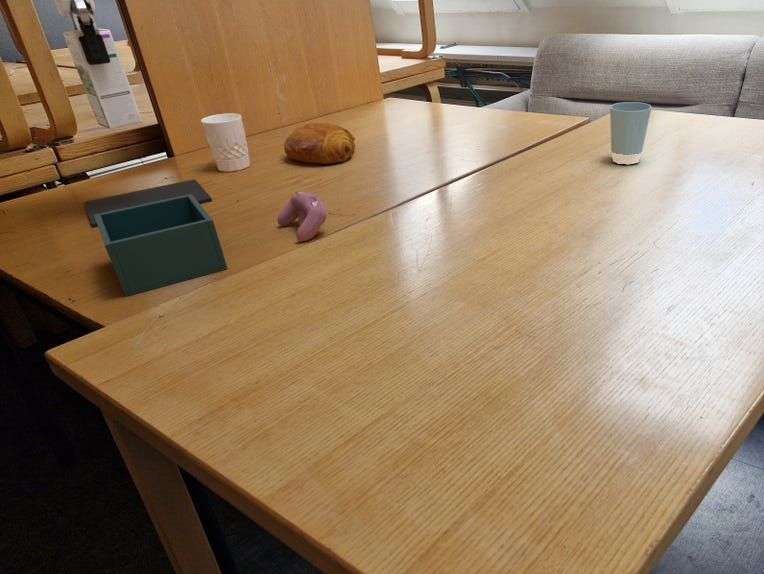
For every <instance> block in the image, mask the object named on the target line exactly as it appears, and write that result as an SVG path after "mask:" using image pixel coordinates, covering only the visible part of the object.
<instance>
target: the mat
mask: <svg viewBox="0 0 764 574" xmlns="http://www.w3.org/2000/svg"><path fill="white" fill-rule="evenodd" d="M189 194H192V195H193V196H194V197H195V199H196V200H197V201H198V202H199V204H200V205H201V204H206V203H210V202H213V199H212V197H211V196H210V195H209V193H208V192H207V191H206V190H205V189H204V188H203V186H202V185H201V184H200V183H199V182H198V181H197V180H196V179H194V178H193V179H188V180H183V181H179V182H175V183H174V182H173V183H169V184H165V185H159V186H155V187H150V188H146V189H140V190H135V191H130V192H125V193H120V194H116V195H111V196H106V197H101V198H95V199H91V200H87V201H83V204H84V207H85V210H86V214H87V217H88V219H89V222H90V225H91V228H96V227H97V228H98V225H97V222H96V220H95V217H94V215H95V214H100V213H104V212H109V211H114V210H119V209H123V208H128V207H133V206H137V205H142V204H147V203H151V202H156V201H161V200H165V199H170V198H175V197H179V196H184V195H189Z"/></svg>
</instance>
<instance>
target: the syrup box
mask: <svg viewBox="0 0 764 574" xmlns="http://www.w3.org/2000/svg"><path fill="white" fill-rule="evenodd" d="M97 28H98V27H97ZM98 30H99V33H100V35H102V38H103V41H104V44H105V47H106V49H107V52H108V55H109V58H110V63H105V64H97V65H90V64H88V62H87V59H86V56H85V54H84V51H83V48H82V45H81V43H80V40H79V37H80V35H79V32H78V30H75V29H74V30H68V31H64V32H62V36H63V37H64V40H65V43H66V46H67V49H68V51H69V53H70V56H71V59H72V61H73V63H74V66H75V69H76V71H77V74H78V76H79V79H80V81H81V84H82V87H83V88H84V91H85V94H86V96H87V99H88V102H89V104H90V106H91V110H92V112H93V114H94V117H95V119H96V122H97V125H99V126H102V127H103V128H107V129H109V130H114V129H120V128H124V127H130V126H134V125H138V124H142V123H143V118H142V116H141V113H140V109H139V107H138V104H137V101H136V98H135V96H134V92H133V90H132V87H131V84H130V82H129V78H128V76H127V73H126V71H125V68H124V65H123V62H122V60H121V56H120V54H119V52H118V48H117V46H116V43H115V41H114V37H113V34H112V32H111V30H110V29H107V28H98Z"/></svg>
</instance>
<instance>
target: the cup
mask: <svg viewBox="0 0 764 574" xmlns="http://www.w3.org/2000/svg"><path fill="white" fill-rule="evenodd" d="M651 112H652V105H651V104H649V103H645V102H637V101H623V102H617V103H613V104H611V105H610V106H609V115H610V117H609V118H610V120H609V121H610V152H611V151H612V152H613V153H616V154H623V155H630V154H631V155H632V154H633V155H634V154H639V153H641V152H642V153H643V148H644V144H645V139H646V135H647V130H648V125H649V121H650V116H651Z"/></svg>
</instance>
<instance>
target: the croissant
mask: <svg viewBox="0 0 764 574" xmlns="http://www.w3.org/2000/svg"><path fill="white" fill-rule="evenodd" d="M355 141H356V137H355V136H354V135H353V134H352V133H351V132H350V131H349V130H348V129H346V128H344V127H342V126H340V125H337V124H331V123H324V122H310V123H306V124H303V125H301V126H299V127H296V128H295V129H293V131H292V132H291V133H289V135H288V136H287V137H286V139H285V140H284V143H283V149H284V153H285V155H286V156H287V158H288V159H290V160H293V161H297V162H303V163H308V164H326V165H327V164H336V163H338V162H339V163H340V162H341V163H342V162H345V161H347V160H348V159H350V158H351V157H352V156H353V155H354V154H355V149H356V144H355Z"/></svg>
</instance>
